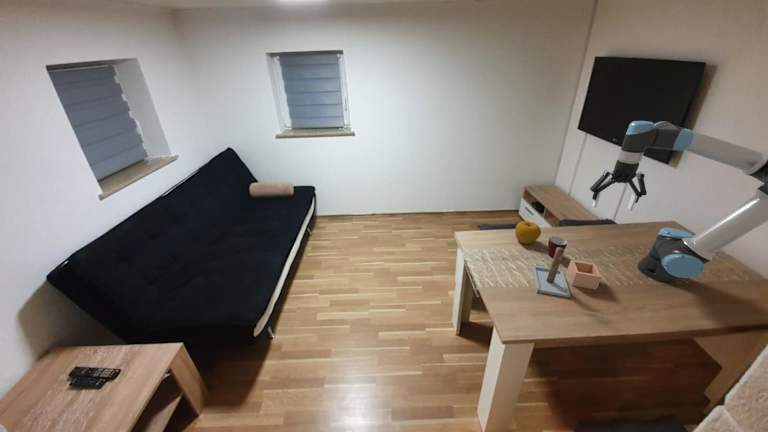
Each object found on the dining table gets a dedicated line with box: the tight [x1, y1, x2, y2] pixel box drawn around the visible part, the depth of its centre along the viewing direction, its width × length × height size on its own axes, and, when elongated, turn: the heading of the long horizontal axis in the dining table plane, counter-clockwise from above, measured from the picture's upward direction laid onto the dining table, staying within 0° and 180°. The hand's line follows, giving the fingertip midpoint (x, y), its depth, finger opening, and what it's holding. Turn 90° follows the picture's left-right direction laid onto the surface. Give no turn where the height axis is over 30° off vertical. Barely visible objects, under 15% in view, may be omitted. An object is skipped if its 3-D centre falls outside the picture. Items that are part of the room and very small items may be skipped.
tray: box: [531, 265, 572, 298], centre depth 139 cm, size 18×13×2 cm
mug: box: [547, 236, 568, 259], centre depth 154 cm, size 10×8×10 cm
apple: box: [514, 220, 542, 245], centre depth 168 cm, size 13×13×11 cm
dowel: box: [546, 247, 565, 284], centre depth 135 cm, size 3×3×18 cm
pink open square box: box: [566, 259, 602, 290], centre depth 138 cm, size 10×10×8 cm
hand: (611, 207), depth 132 cm, fingers open, 13 cm apart
